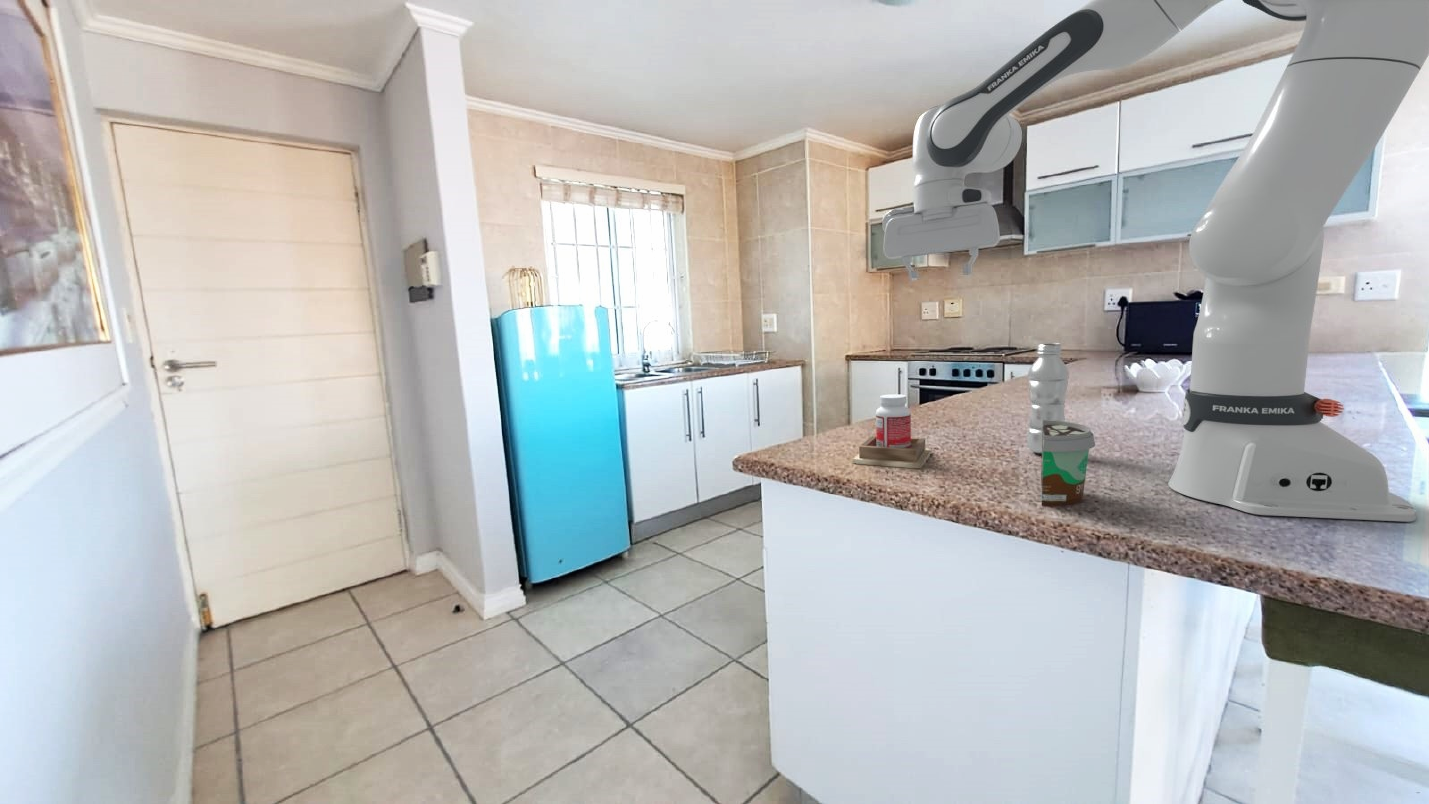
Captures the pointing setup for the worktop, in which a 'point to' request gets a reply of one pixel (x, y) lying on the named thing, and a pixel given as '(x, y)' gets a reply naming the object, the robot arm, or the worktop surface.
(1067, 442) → the food container
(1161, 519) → the worktop surface
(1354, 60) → the robot arm
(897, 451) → the brown wooden square tray
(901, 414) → the pill bottle
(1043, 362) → the plastic bottle
